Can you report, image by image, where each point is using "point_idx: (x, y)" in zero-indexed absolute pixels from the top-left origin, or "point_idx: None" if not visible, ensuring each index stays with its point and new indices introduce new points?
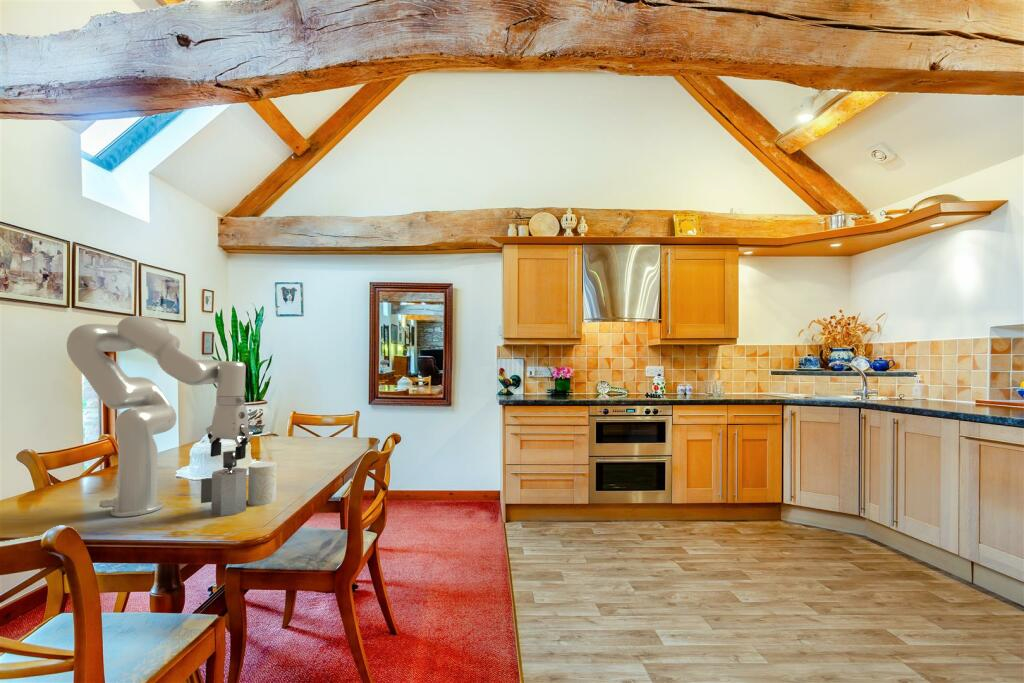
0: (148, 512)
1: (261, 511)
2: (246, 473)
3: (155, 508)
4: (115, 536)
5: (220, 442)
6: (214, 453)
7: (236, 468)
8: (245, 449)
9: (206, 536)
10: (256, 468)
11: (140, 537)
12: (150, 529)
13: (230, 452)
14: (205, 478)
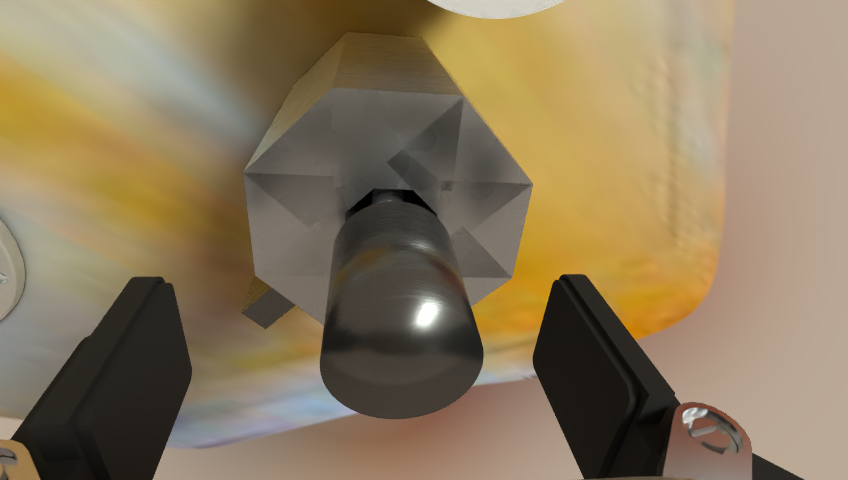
0: (23, 265)
1: (558, 81)
2: (485, 122)
3: (4, 239)
4: (231, 425)
5: (71, 433)
6: (178, 381)
7: (352, 119)
8: (632, 342)
9: (523, 352)
10: (530, 13)
11: (319, 409)
12: (272, 365)
13: (435, 382)
14: (261, 301)
